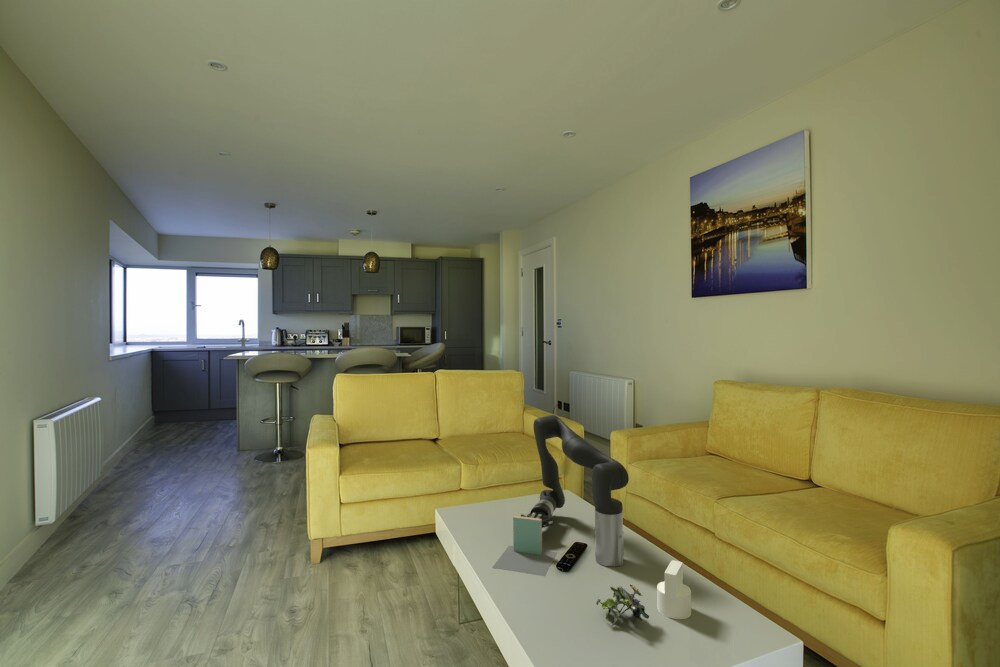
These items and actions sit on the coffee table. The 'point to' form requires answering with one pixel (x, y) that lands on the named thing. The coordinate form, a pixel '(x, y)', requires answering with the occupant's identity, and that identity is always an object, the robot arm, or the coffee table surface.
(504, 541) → the coffee table surface
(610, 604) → the passion flower
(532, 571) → the mat
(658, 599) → the cylinder with rectangular tab
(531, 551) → the tile
